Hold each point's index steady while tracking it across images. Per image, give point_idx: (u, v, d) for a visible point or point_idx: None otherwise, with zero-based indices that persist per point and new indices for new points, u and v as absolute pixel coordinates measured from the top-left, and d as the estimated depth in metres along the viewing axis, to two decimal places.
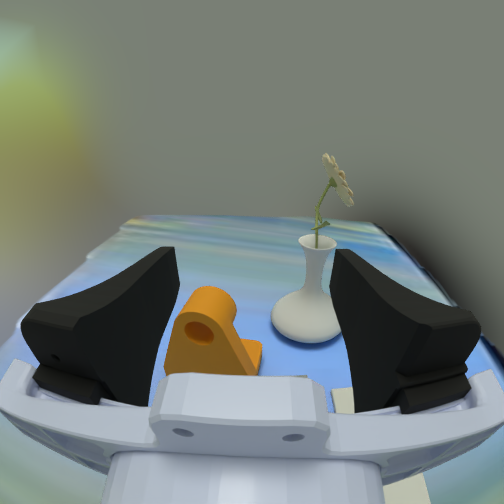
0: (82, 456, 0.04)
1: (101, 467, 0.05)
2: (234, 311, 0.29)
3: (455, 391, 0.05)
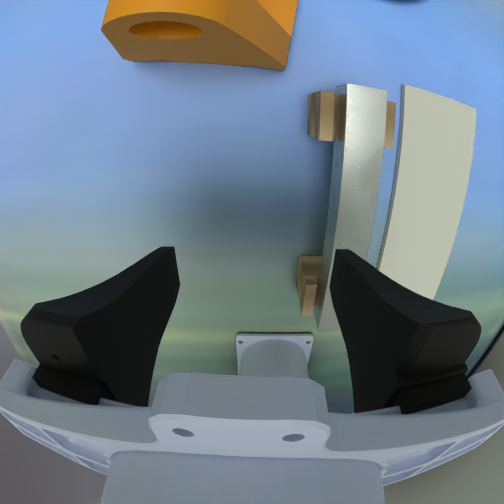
0: (82, 456, 0.04)
1: (101, 467, 0.05)
2: None
3: (455, 391, 0.05)
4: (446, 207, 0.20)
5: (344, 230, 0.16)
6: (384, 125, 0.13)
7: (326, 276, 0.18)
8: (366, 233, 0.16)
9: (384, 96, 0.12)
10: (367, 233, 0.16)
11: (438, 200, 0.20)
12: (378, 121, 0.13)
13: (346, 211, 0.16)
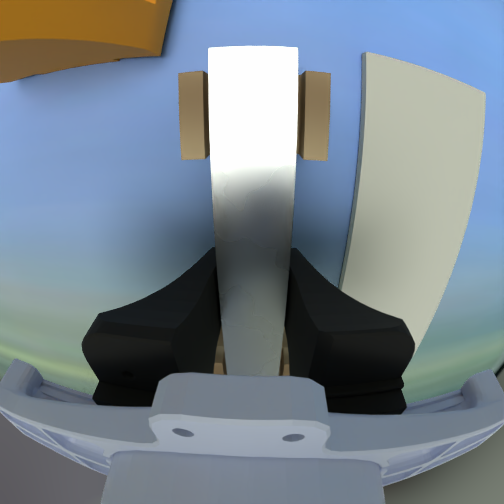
0: (82, 456, 0.04)
1: (101, 467, 0.05)
2: None
3: (383, 409, 0.05)
4: (437, 242, 0.14)
5: (235, 308, 0.10)
6: (294, 117, 0.07)
7: None
8: (276, 312, 0.10)
9: (291, 59, 0.06)
10: (278, 312, 0.10)
11: (425, 233, 0.14)
12: (280, 110, 0.07)
13: (232, 281, 0.09)
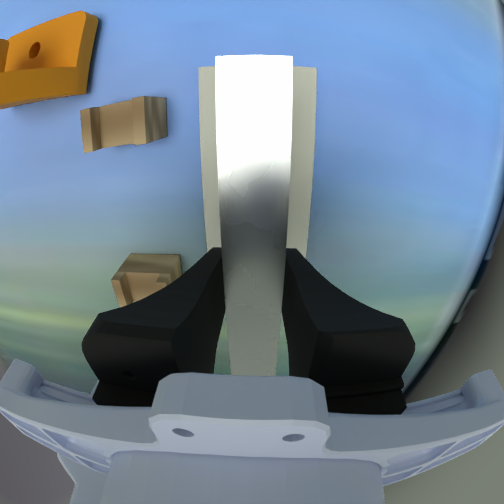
0: (82, 456, 0.04)
1: (101, 467, 0.05)
2: None
3: (383, 409, 0.05)
4: None
5: (237, 287, 0.11)
6: (289, 116, 0.08)
7: None
8: (274, 290, 0.11)
9: (287, 66, 0.07)
10: (276, 290, 0.11)
11: None
12: (277, 110, 0.08)
13: (235, 261, 0.11)
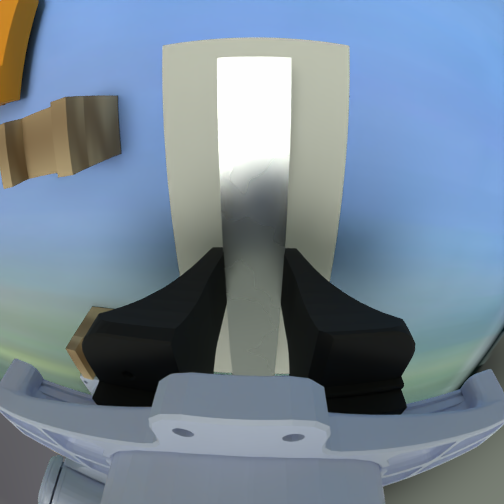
0: (82, 456, 0.04)
1: (100, 466, 0.05)
2: None
3: (383, 409, 0.05)
4: (291, 243, 0.13)
5: (238, 281, 0.12)
6: (288, 115, 0.08)
7: None
8: (274, 284, 0.12)
9: (286, 67, 0.07)
10: (276, 284, 0.12)
11: None
12: (276, 110, 0.08)
13: (236, 255, 0.11)
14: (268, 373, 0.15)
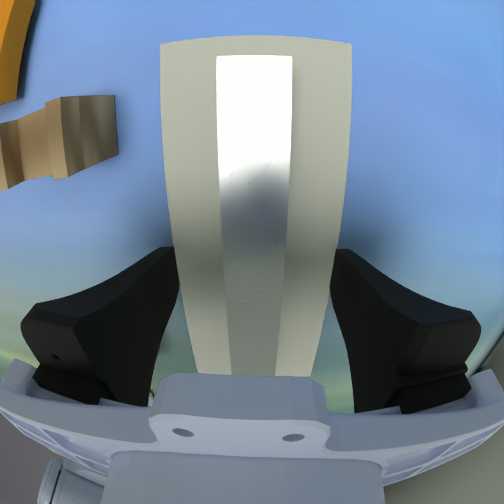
0: (82, 456, 0.04)
1: (101, 467, 0.05)
2: None
3: (455, 391, 0.05)
4: (292, 246, 0.13)
5: (237, 284, 0.11)
6: (289, 115, 0.08)
7: None
8: (274, 287, 0.11)
9: (286, 66, 0.07)
10: (276, 287, 0.11)
11: None
12: (277, 109, 0.08)
13: (236, 258, 0.11)
14: None
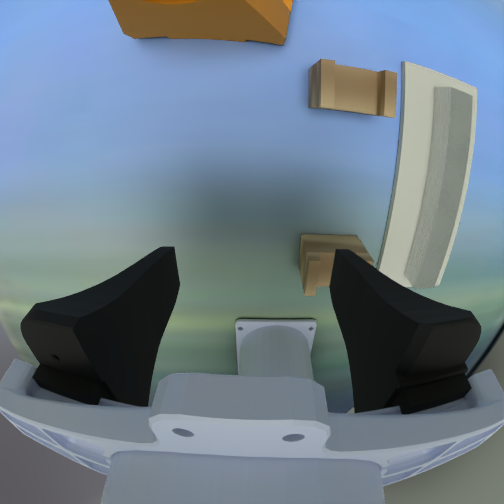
0: (82, 456, 0.04)
1: (101, 467, 0.05)
2: None
3: (455, 391, 0.05)
4: None
5: (444, 197, 0.17)
6: (471, 120, 0.14)
7: (425, 237, 0.19)
8: (457, 201, 0.17)
9: (471, 99, 0.13)
10: (457, 201, 0.17)
11: None
12: (467, 117, 0.14)
13: (447, 182, 0.16)
14: (437, 269, 0.20)
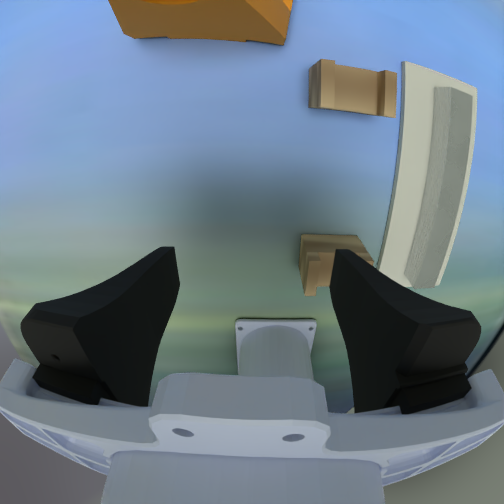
0: (82, 456, 0.04)
1: (101, 467, 0.05)
2: None
3: (455, 391, 0.05)
4: None
5: (444, 197, 0.17)
6: (471, 120, 0.14)
7: (425, 237, 0.19)
8: (457, 201, 0.17)
9: (471, 99, 0.13)
10: (457, 201, 0.17)
11: None
12: (467, 117, 0.14)
13: (447, 182, 0.16)
14: (437, 269, 0.20)
